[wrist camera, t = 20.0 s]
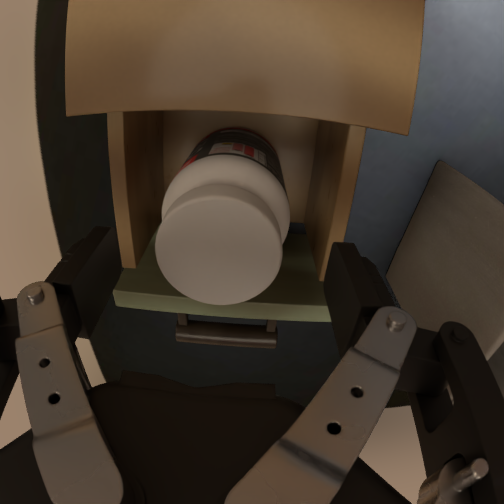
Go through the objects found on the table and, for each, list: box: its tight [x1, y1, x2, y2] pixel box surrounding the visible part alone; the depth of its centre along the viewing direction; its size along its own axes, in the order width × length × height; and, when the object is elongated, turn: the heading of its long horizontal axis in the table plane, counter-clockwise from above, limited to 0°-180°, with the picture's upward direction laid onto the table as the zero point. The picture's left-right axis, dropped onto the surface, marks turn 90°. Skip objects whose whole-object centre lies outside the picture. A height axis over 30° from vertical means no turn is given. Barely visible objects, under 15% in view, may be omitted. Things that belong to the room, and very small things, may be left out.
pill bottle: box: [155, 127, 290, 305], centre depth 16 cm, size 6×6×10 cm
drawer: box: [107, 110, 366, 348], centre depth 19 cm, size 19×13×8 cm, turn 176°
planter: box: [386, 161, 504, 404], centre depth 18 cm, size 16×8×19 cm, turn 30°
